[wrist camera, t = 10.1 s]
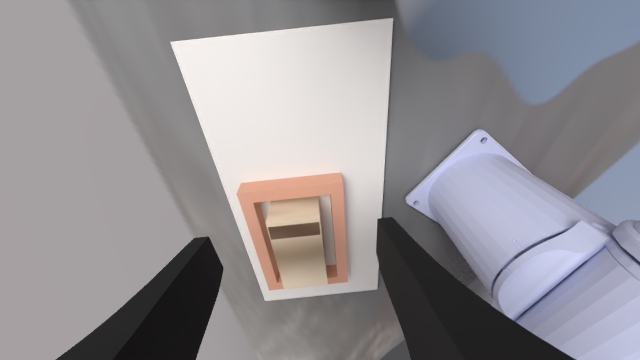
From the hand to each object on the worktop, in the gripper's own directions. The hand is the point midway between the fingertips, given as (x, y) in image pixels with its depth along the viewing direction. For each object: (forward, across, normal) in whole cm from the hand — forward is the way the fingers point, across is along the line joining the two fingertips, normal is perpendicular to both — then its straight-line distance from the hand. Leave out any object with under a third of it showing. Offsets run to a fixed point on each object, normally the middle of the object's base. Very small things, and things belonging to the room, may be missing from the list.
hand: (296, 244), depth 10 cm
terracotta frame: (+9, +1, +8) cm, 12 cm away
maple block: (+9, +1, +8) cm, 12 cm away
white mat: (+9, 0, +5) cm, 11 cm away
